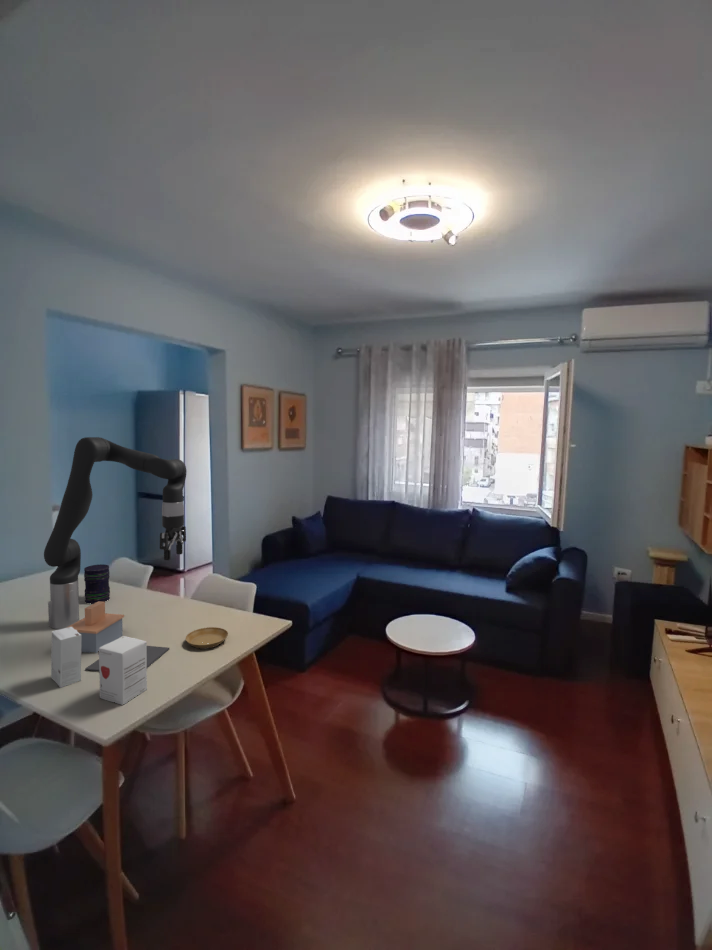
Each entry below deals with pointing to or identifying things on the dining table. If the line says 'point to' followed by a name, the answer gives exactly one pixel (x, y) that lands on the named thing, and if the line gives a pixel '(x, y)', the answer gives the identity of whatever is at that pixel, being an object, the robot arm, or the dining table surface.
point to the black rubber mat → (152, 656)
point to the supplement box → (123, 669)
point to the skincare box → (66, 656)
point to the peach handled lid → (95, 619)
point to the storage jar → (96, 583)
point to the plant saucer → (206, 637)
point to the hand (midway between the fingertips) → (173, 557)
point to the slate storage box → (101, 637)
